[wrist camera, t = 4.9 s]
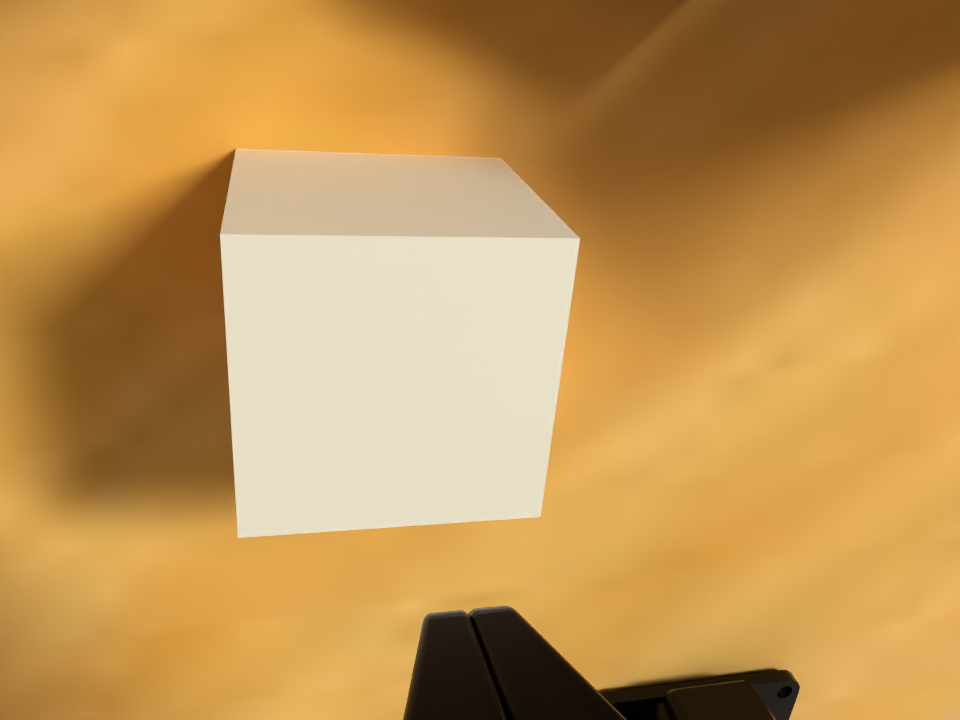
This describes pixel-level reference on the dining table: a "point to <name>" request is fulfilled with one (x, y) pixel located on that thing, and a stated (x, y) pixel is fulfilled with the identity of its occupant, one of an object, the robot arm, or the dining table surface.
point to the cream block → (390, 339)
